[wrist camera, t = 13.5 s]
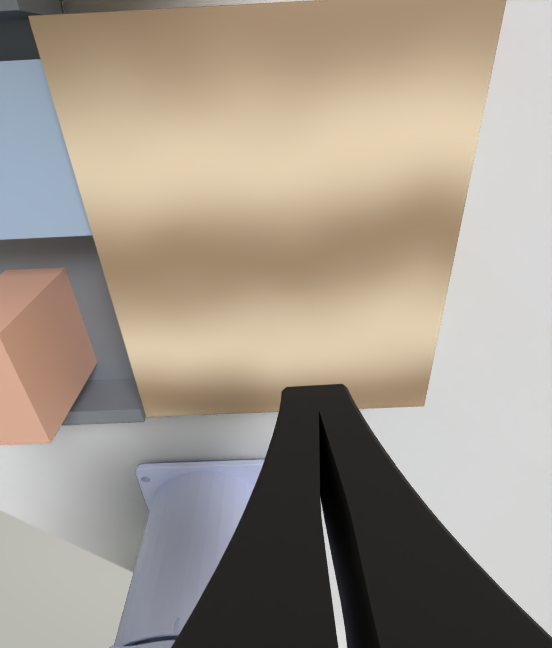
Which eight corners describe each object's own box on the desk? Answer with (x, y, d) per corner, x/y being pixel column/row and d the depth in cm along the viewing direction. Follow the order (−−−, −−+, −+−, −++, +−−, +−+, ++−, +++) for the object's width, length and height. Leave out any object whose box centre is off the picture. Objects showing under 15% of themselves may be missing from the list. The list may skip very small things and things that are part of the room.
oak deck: (402, 356, 21) (424, 406, 18) (164, 366, 21) (146, 417, 18) (455, 5, 13) (508, -10, 10) (81, 25, 13) (27, 15, 10)
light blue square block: (119, 212, 16) (96, 235, 14) (-9, 218, 16) (-50, 242, 14) (80, 59, 13) (44, 58, 11) (-73, 67, 13) (-136, 69, 11)
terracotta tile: (50, 443, 16) (-15, 445, 16) (97, 362, 20) (46, 364, 20) (-2, 334, 13) (-81, 337, 13) (65, 267, 17) (5, 269, 17)
